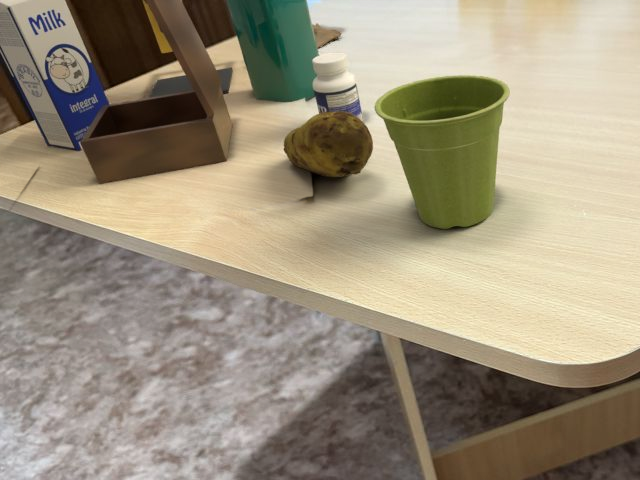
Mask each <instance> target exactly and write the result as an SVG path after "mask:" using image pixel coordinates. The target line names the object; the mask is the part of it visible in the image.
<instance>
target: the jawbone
mask: <svg viewBox="0 0 640 480" xmlns="http://www.w3.org/2000/svg"><path fill="white" fill-rule="evenodd" d="M312 26H313V31H314V35H315V40H316V44H317V48H318V49H319V48H321V47H323V46H325V45H326V44H328V43H329V42H331V41H333V40H335V39H337V38H340V37H341V36H342V32H341V31H340V30H338V29H335V28H334V29H333V28H332V29H331V28H325V27H322V26H320V24H319V23H317V22H316V23H315V24H313V23H312Z"/></svg>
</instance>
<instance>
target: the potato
mask: <svg viewBox="0 0 640 480" xmlns="http://www.w3.org/2000/svg"><path fill="white" fill-rule="evenodd" d="M364 123H365V122H364ZM364 123H363V122H362V121H361V120H360V119H359V118H358V117H357V116H355V115H353V114H351V113H349V112H346V111H336V112H331V111H330V112H322V113H320V114H319V113H317V114H315V115H313V116H312V117H310V118H309V119H308V120H307V121H306V122H305V123H303V124H302V125H301V126H298V127H296V128H294V129H293V130H291V131H290V132H288V134H287V135H286V136H285V137H284V140H283V152H284V153H285V154H286V156H287V159H288V160H289V162H291V164H293V165H295V166H296V167H298V168H299V169H302V170H303V169H304V170H307V171H309V172H311V173H314V174H317V175H320V176H322V177H325V178H327V177H328V178H342V177H343V178H344V177H347V176H350V175H358V174H361V171H362V170H363V169H364V168H365V166H366V165H367V163H368V161H369V160H370V158H371V157H372V154H373V152H374V151H373V150H374V141H373V140H374V139H373V137H372V134H371V132H370V130H369V128H368V126H367V125H366V124H364Z"/></svg>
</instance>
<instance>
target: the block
mask: <svg viewBox="0 0 640 480" xmlns="http://www.w3.org/2000/svg"><path fill="white" fill-rule="evenodd" d="M181 1H182V2H183V0H181ZM142 3H143V6H144V9H145V11H146V15H147V17H148V20H149V22H150V25H151V28H152V31H153V33H154V35H155V39H156V41H157V45H158V47H159V50H160V53H161V54H167V53H174V52H173V51H172V49H171V47H170V45H169V43H168V41H167V39H166V38H165V36H164V34H163V33H162V32H161V31H160V28H159V26H158V23H157V21H156V19H155V17H154V15H153V13H152V12H151V10H150V8H149V6H148V4H146V2H145V1H144V0H142Z"/></svg>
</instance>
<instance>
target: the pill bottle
mask: <svg viewBox="0 0 640 480" xmlns="http://www.w3.org/2000/svg"><path fill="white" fill-rule="evenodd" d="M312 62H313V67H314V71H315V73H316V74H317V75H318V76H317V77H316V78H315V79H314V81H313V90H314V94H315V96H314V97H315V101H316V105H317V110H318V114H320V113H322V112H330V111H331V112H336V111H346V112H349V113H351V114H353V115H355V116H357V117H358V118H359V119H360V120H361V121H362V122H363V123H364V124H365V118H364V114H363V110H362V109H363V108H362V105H361V100H360V94H359V89H358V84H357V79H356V76H355V75H354V74H353V73H352V72H351V71H349V70H347V69H348V68H349V67H348V64H349V63H348V59H347V55H346V54H345V53H343V52H327V53H322V54H319V56H317V57H315V58H314V59H313V60H312ZM365 125H366V124H365Z"/></svg>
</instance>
